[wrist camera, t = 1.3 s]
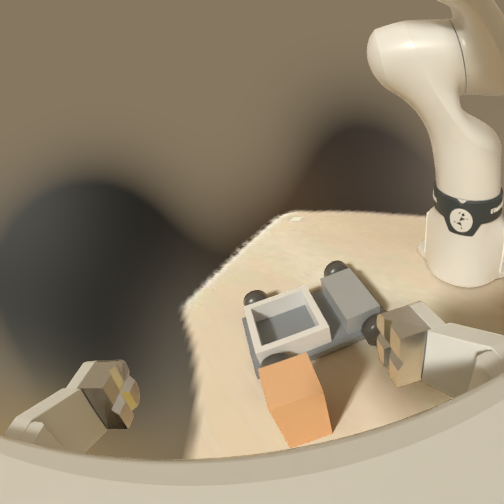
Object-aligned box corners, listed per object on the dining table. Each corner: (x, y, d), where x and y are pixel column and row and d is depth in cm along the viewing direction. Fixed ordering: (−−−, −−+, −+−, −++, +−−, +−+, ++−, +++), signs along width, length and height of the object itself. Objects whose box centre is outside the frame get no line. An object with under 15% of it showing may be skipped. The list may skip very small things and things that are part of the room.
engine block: (319, 400, 34) (306, 351, 29) (332, 433, 29) (323, 390, 24) (280, 414, 34) (257, 369, 29) (290, 448, 29) (268, 410, 24)
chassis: (352, 274, 52) (349, 255, 50) (399, 334, 38) (400, 314, 36) (242, 314, 51) (234, 297, 49) (261, 390, 37) (252, 373, 35)
